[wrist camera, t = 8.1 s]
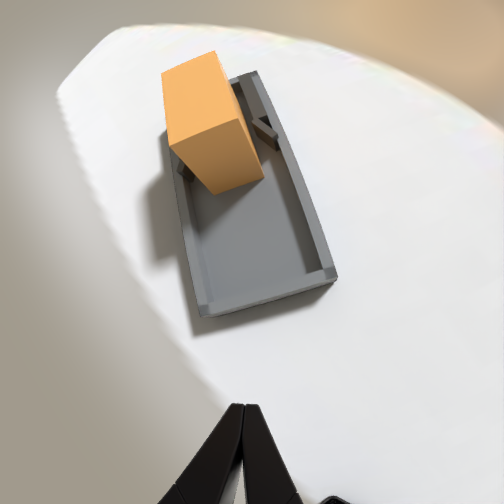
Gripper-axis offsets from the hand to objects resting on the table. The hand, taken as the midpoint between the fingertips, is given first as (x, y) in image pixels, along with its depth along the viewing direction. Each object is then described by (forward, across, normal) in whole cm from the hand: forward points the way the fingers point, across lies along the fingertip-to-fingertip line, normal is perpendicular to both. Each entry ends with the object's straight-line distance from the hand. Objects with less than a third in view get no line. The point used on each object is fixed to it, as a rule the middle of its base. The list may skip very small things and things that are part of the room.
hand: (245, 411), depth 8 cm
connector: (+21, +3, -7) cm, 22 cm away
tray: (+20, +2, -4) cm, 20 cm away
